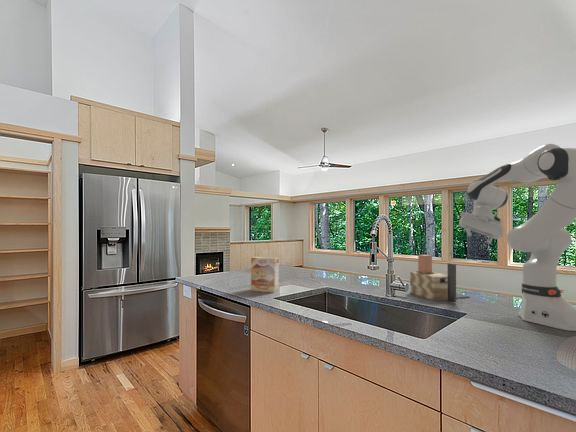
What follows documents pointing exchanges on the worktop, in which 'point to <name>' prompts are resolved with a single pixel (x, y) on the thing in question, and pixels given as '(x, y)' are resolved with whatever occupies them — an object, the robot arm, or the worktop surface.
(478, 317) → the worktop surface
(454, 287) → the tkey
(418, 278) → the beige patterned box
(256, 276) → the coffeecake box
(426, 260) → the reddish pink block
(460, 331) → the worktop surface
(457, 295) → the pad
